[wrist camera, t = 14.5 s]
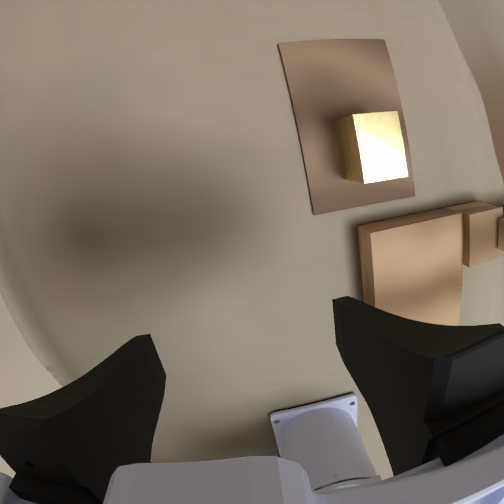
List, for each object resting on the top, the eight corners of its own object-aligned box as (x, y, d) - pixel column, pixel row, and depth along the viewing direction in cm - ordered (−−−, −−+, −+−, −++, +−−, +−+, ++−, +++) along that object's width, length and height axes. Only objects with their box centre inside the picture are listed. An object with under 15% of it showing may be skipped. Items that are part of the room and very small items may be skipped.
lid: (409, 194, 22) (442, 202, 18) (311, 213, 22) (329, 225, 18) (379, 42, 18) (406, 23, 14) (277, 47, 18) (286, 23, 14)
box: (472, 323, 25) (490, 338, 22) (365, 362, 25) (379, 384, 22) (478, 200, 21) (502, 207, 18) (356, 225, 21) (375, 236, 18)
